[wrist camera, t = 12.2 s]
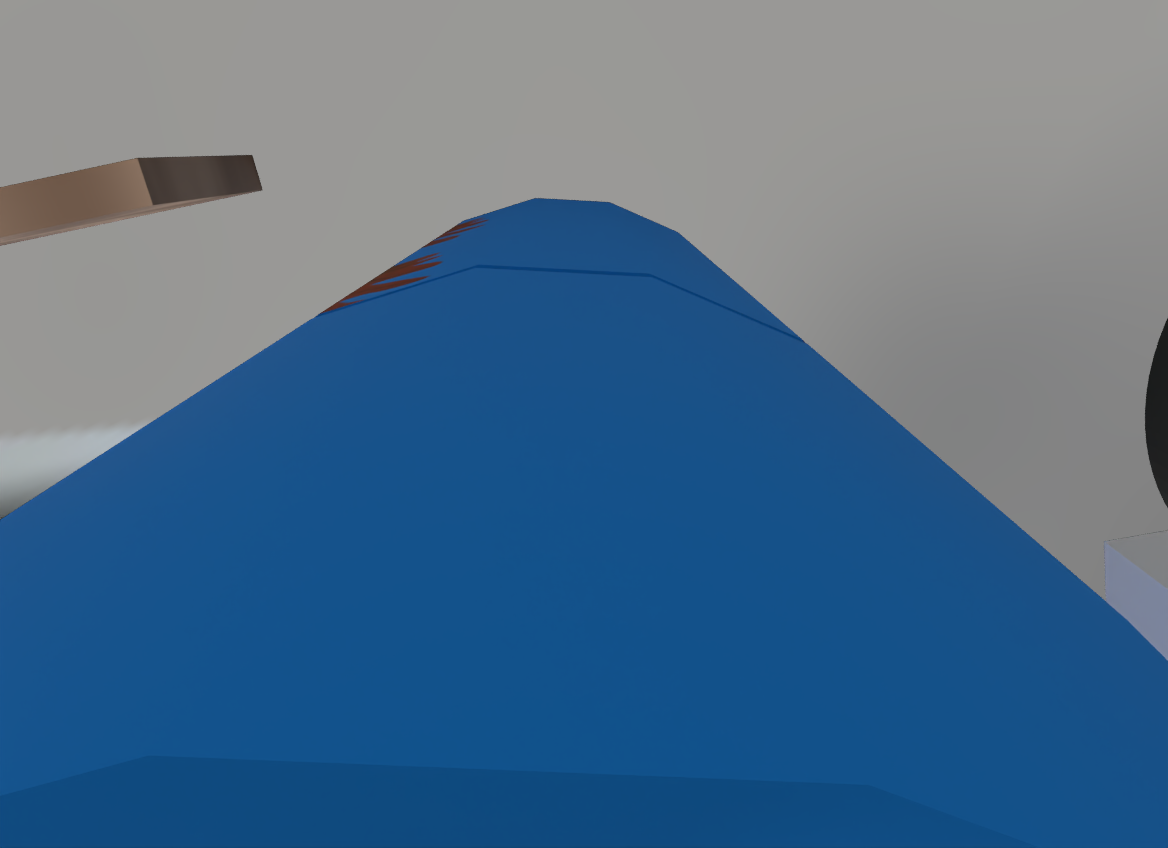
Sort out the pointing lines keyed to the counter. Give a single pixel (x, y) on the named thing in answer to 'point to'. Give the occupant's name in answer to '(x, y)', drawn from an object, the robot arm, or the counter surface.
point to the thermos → (555, 592)
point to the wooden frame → (120, 193)
